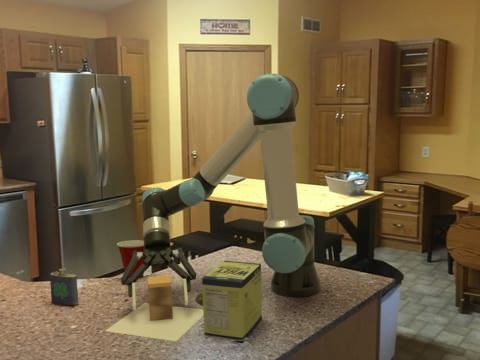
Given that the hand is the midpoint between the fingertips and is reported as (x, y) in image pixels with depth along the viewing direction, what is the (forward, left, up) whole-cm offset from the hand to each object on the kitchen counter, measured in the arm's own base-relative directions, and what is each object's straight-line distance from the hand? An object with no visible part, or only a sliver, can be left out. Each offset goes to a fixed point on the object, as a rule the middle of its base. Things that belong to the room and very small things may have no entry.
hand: (160, 305), depth 139 cm
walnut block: (+1, -2, -4) cm, 4 cm away
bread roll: (-10, -17, -5) cm, 20 cm away
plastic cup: (+27, -32, -5) cm, 42 cm away
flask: (+34, -4, -5) cm, 35 cm away
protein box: (-20, -2, -5) cm, 21 cm away
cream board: (0, +1, -5) cm, 5 cm away
